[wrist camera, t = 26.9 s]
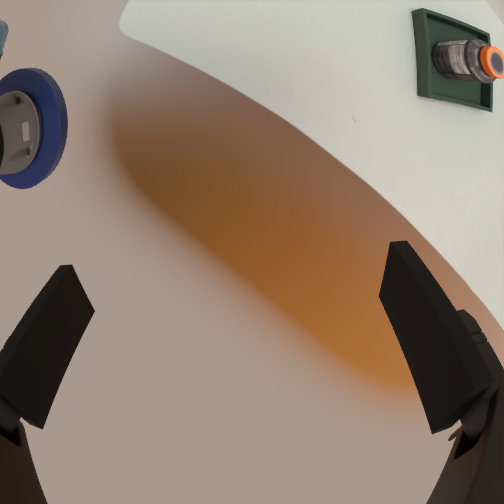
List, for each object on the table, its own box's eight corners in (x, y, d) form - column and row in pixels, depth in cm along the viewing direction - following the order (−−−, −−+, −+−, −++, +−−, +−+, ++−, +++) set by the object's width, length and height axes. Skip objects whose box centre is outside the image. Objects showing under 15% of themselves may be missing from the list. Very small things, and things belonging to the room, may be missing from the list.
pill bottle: (465, 57, 25) (516, 62, 16) (454, 86, 28) (505, 97, 19) (437, 32, 24) (488, 28, 15) (425, 62, 27) (476, 64, 18)
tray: (417, 95, 30) (428, 97, 28) (411, 11, 23) (422, 7, 21) (480, 108, 30) (492, 112, 27) (477, 34, 23) (489, 33, 20)
